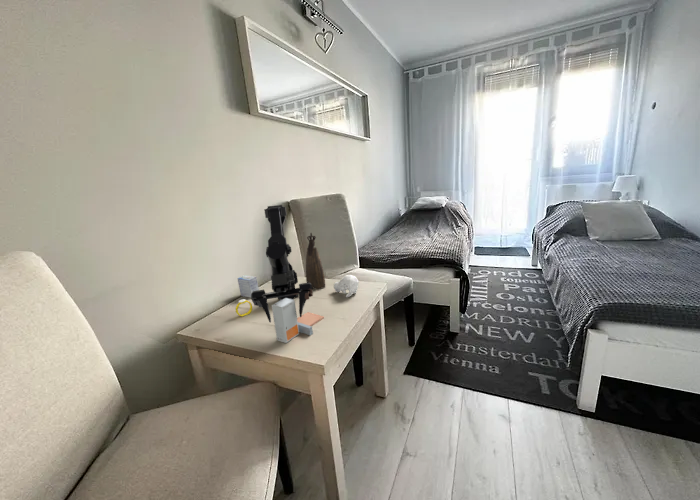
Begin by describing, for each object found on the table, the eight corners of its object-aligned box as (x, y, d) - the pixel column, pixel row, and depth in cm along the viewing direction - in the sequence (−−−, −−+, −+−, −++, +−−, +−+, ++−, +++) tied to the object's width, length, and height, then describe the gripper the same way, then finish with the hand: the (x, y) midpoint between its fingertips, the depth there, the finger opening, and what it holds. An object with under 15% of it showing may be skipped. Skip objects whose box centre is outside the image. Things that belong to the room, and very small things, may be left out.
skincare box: (286, 343, 88) (280, 307, 85) (276, 340, 90) (270, 305, 87) (300, 334, 93) (295, 299, 90) (290, 331, 95) (285, 297, 92)
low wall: (284, 323, 101) (283, 317, 100) (312, 333, 92) (311, 326, 92) (281, 325, 100) (280, 318, 99) (310, 335, 91) (309, 328, 91)
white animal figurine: (348, 278, 114) (327, 276, 122) (352, 298, 116) (331, 295, 124) (358, 273, 119) (337, 272, 127) (362, 293, 120) (340, 290, 128)
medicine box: (260, 294, 130) (256, 276, 128) (252, 298, 127) (248, 279, 125) (248, 292, 135) (245, 274, 133) (240, 296, 131) (237, 278, 129)
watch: (239, 319, 108) (235, 305, 107) (236, 317, 110) (232, 303, 109) (254, 312, 112) (250, 298, 111) (251, 310, 114) (247, 296, 113)
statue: (325, 282, 138) (318, 231, 131) (325, 288, 131) (318, 234, 124) (307, 284, 137) (299, 233, 130) (306, 291, 130) (298, 237, 123)
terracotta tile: (308, 313, 107) (307, 312, 107) (324, 318, 102) (324, 316, 102) (291, 322, 101) (291, 321, 101) (307, 328, 96) (307, 326, 96)
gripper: (246, 266, 88) (247, 315, 80) (307, 258, 92) (315, 304, 84) (253, 283, 98) (255, 328, 90) (309, 274, 101) (316, 317, 93)
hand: (285, 319), depth 89 cm, fingers open, 9 cm apart
